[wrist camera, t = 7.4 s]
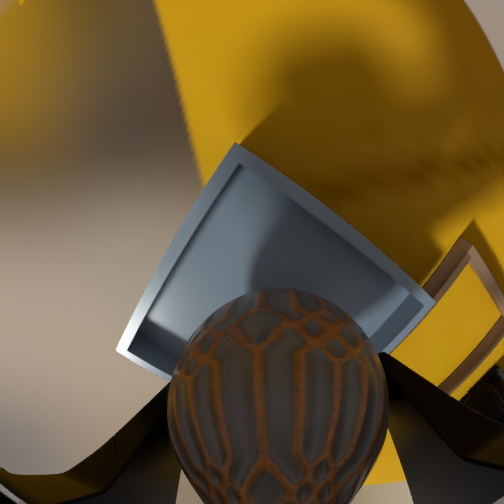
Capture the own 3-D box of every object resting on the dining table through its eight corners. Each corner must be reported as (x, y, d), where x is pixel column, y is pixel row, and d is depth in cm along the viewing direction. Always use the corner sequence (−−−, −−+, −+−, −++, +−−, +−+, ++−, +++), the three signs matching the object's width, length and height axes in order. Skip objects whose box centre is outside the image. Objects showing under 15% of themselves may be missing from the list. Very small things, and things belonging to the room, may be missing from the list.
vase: (212, 239, 10) (84, 483, 2) (381, 284, 10) (495, 474, 2) (187, 369, 12) (135, 533, 4) (318, 396, 13) (337, 550, 4)
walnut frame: (506, 312, 13) (515, 320, 12) (421, 404, 16) (426, 415, 15) (459, 236, 11) (472, 244, 10) (343, 370, 14) (347, 384, 13)
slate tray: (417, 283, 12) (436, 302, 10) (288, 407, 16) (290, 431, 14) (239, 144, 10) (235, 142, 8) (129, 328, 14) (115, 350, 12)
